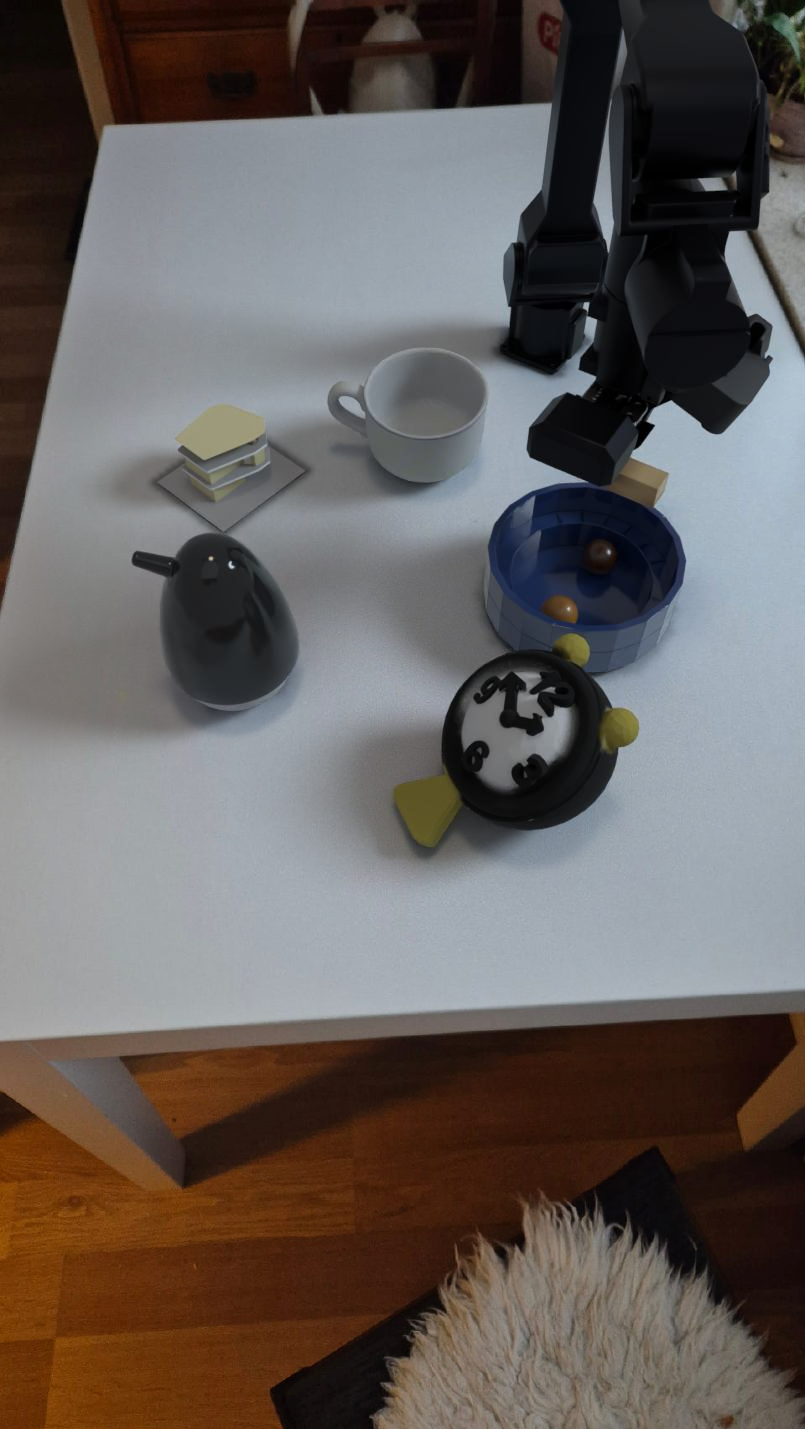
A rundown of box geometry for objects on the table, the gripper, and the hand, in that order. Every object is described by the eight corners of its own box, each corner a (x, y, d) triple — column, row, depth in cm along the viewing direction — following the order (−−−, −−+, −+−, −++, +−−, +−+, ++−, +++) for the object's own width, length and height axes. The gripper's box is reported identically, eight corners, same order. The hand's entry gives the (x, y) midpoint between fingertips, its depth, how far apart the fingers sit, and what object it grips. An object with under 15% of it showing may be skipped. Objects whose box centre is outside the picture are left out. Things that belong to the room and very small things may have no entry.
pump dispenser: (182, 623, 83) (139, 489, 70) (308, 625, 82) (289, 491, 69) (162, 729, 77) (112, 605, 64) (298, 732, 77) (274, 608, 64)
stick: (556, 469, 77) (559, 449, 75) (569, 453, 78) (572, 433, 76) (652, 509, 75) (658, 489, 73) (664, 492, 76) (669, 473, 74)
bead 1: (531, 630, 81) (535, 606, 79) (549, 605, 82) (553, 581, 80) (564, 646, 80) (569, 623, 78) (581, 621, 82) (587, 597, 79)
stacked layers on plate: (223, 532, 88) (213, 486, 83) (157, 482, 91) (143, 436, 86) (305, 471, 92) (299, 424, 87) (238, 425, 95) (229, 378, 90)
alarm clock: (426, 750, 80) (467, 584, 72) (602, 815, 78) (666, 650, 69) (373, 836, 71) (412, 656, 62) (571, 913, 68) (641, 736, 60)
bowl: (449, 623, 82) (451, 576, 77) (539, 508, 89) (547, 457, 84) (617, 708, 78) (631, 663, 73) (698, 579, 85) (717, 530, 79)
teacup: (497, 432, 94) (504, 361, 87) (463, 513, 89) (467, 444, 82) (358, 400, 97) (353, 329, 90) (316, 477, 91) (308, 407, 85)
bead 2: (572, 573, 84) (577, 549, 82) (588, 550, 86) (594, 526, 83) (604, 588, 83) (610, 564, 81) (620, 565, 85) (627, 540, 82)
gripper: (711, 415, 56) (655, 596, 69) (828, 247, 64) (759, 437, 77) (534, 347, 59) (513, 532, 72) (667, 196, 68) (627, 386, 81)
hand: (610, 470), depth 76 cm, fingers closed on stick, 2 cm apart
